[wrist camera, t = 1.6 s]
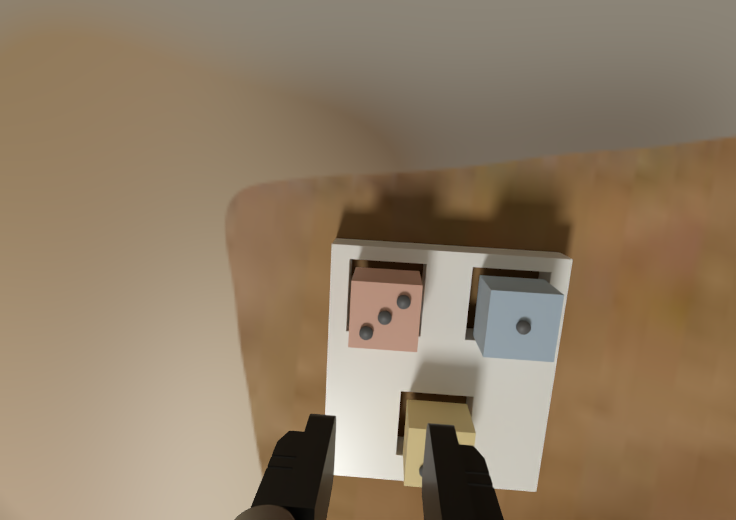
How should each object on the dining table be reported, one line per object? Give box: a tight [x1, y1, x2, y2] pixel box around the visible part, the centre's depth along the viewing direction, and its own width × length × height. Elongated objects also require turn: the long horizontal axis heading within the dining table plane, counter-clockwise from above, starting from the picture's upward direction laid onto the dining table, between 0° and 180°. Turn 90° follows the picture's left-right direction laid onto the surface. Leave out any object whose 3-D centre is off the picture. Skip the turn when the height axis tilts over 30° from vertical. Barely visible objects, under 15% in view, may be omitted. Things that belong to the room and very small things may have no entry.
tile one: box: [473, 275, 564, 362], centre depth 24 cm, size 4×4×3 cm
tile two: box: [403, 399, 476, 487], centre depth 26 cm, size 4×4×3 cm
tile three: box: [348, 267, 423, 352], centre depth 25 cm, size 4×4×3 cm
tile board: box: [325, 238, 573, 492], centre depth 28 cm, size 14×15×2 cm
